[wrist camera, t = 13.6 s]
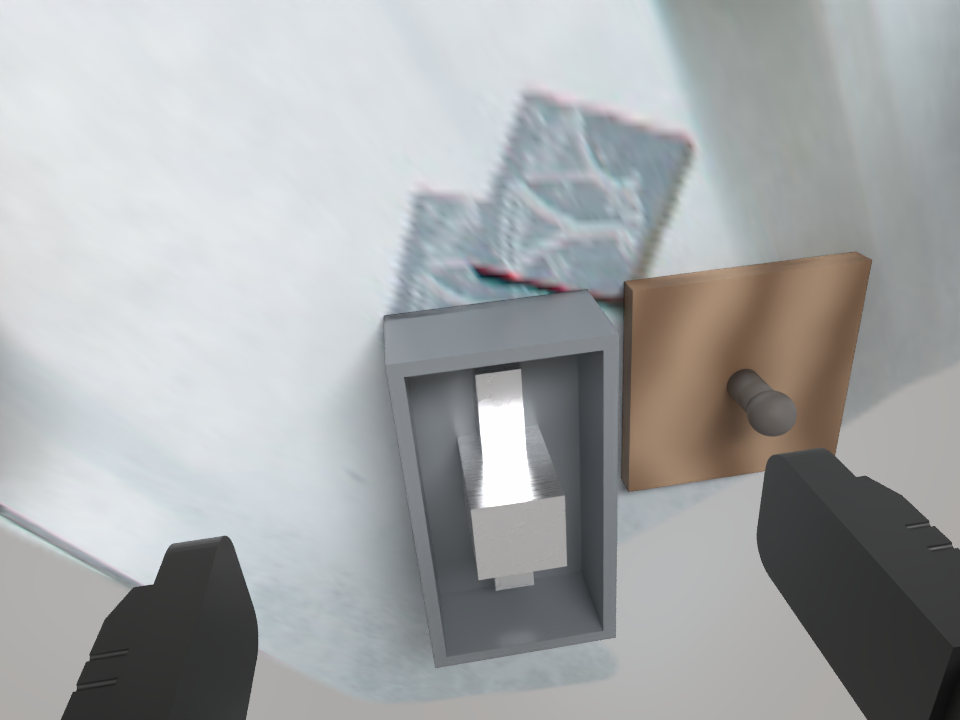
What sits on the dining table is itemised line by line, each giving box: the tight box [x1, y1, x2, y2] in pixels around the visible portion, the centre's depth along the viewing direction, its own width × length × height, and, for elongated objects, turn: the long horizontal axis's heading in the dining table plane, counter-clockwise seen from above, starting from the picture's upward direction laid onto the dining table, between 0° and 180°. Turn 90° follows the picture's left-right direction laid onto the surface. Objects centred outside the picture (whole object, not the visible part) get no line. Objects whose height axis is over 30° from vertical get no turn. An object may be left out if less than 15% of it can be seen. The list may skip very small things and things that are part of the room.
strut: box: [457, 362, 567, 591], centre depth 41 cm, size 16×5×7 cm, turn 5°
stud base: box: [621, 252, 872, 492], centre depth 41 cm, size 14×14×6 cm
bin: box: [384, 290, 619, 668], centre depth 42 cm, size 22×12×6 cm, turn 5°
